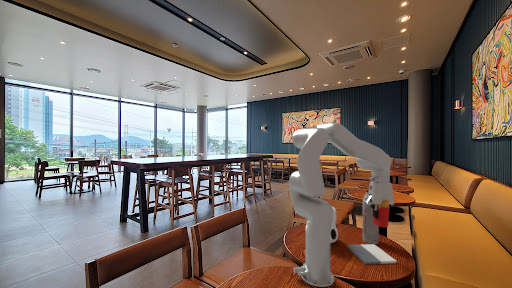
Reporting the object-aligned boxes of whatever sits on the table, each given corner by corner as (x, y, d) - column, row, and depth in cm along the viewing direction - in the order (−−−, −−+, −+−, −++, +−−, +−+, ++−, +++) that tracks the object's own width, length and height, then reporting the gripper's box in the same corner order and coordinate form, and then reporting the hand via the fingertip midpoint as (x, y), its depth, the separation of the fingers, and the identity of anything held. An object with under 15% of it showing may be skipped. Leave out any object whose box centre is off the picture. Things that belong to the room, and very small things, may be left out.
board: (365, 264, 94) (365, 262, 94) (346, 246, 110) (346, 245, 110) (396, 263, 96) (396, 260, 96) (373, 246, 112) (373, 244, 112)
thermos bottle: (364, 243, 115) (365, 191, 115) (360, 237, 122) (361, 188, 122) (380, 244, 113) (381, 192, 113) (375, 238, 121) (376, 189, 121)
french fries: (369, 221, 105) (369, 195, 105) (376, 221, 106) (376, 195, 106) (384, 229, 96) (384, 200, 96) (392, 228, 97) (392, 200, 97)
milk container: (305, 245, 112) (305, 211, 112) (305, 231, 129) (305, 202, 129) (340, 249, 108) (340, 214, 108) (335, 235, 125) (335, 204, 125)
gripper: (368, 181, 97) (368, 221, 97) (402, 181, 98) (402, 220, 98) (359, 178, 104) (358, 215, 104) (391, 178, 106) (390, 214, 106)
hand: (380, 217), depth 101 cm, fingers closed on french fries, 4 cm apart
